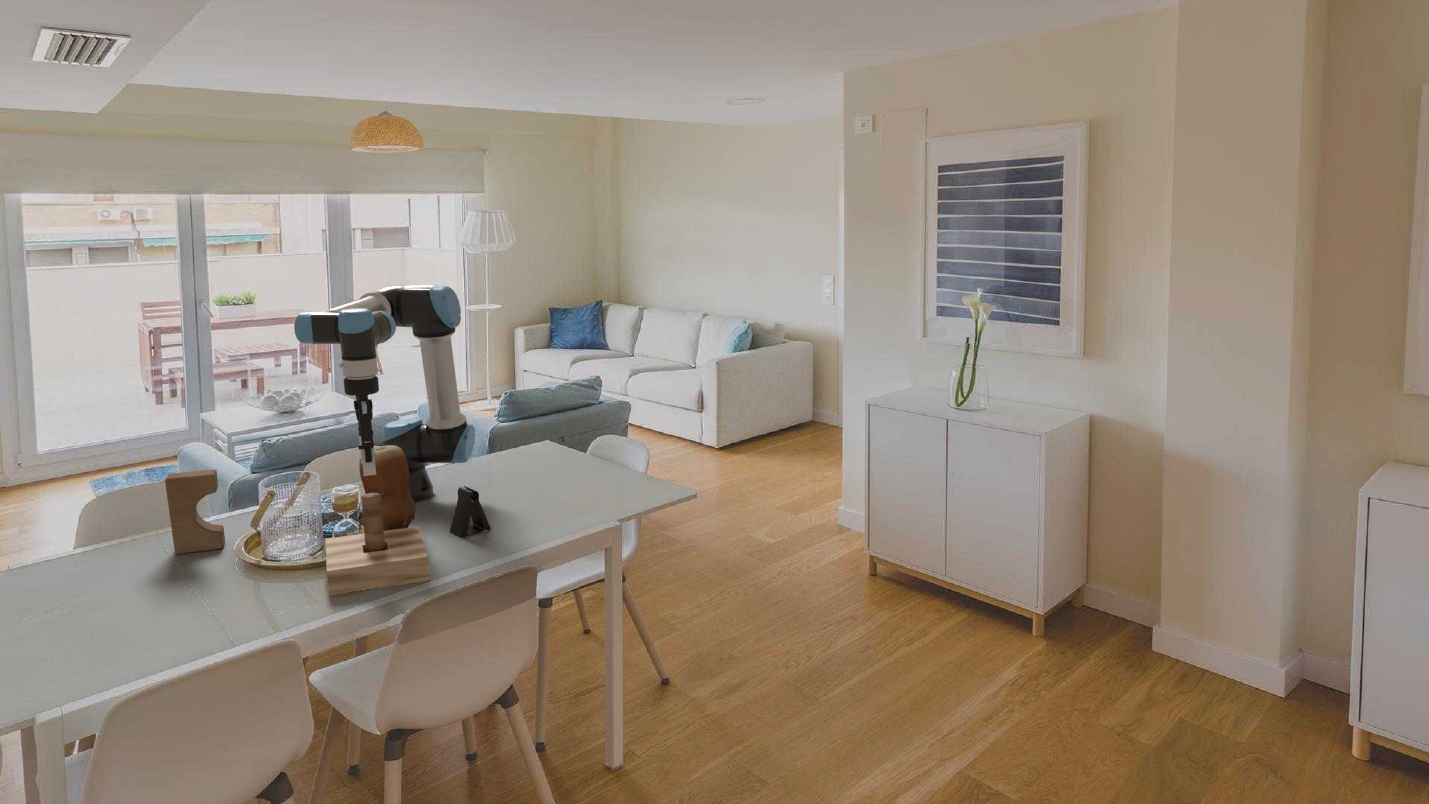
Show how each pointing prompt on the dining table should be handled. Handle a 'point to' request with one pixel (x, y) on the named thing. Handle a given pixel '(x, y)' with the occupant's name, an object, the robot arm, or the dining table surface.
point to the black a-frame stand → (468, 514)
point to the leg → (373, 522)
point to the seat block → (376, 561)
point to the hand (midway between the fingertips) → (368, 468)
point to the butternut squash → (391, 486)
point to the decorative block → (192, 511)
